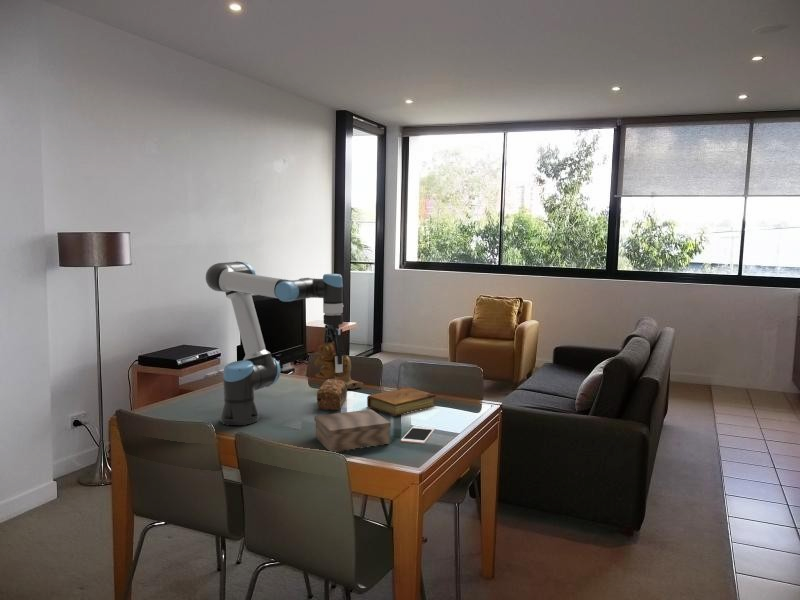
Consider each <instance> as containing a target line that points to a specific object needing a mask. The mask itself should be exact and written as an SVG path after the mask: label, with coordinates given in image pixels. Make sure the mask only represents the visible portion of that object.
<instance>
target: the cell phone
mask: <svg viewBox="0 0 800 600" xmlns="http://www.w3.org/2000/svg"><path fill="white" fill-rule="evenodd" d="M435 430H436V428H435V427H430V426H419V425H418V426H417V425H413V426H412V427H411V428H410V429H409V430H408V431H407V433H406V434H405V435H404V436H403V437H402V438H401V439H400V442H401V443H411V444H421V445H424V444H425V443H426V442H427V441H428V439H429V438H430V437H431V436H432V434H433V433H434V432H435Z"/></svg>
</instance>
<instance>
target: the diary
mask: <svg viewBox="0 0 800 600" xmlns="http://www.w3.org/2000/svg"><path fill="white" fill-rule="evenodd" d="M434 398H436V394H434V393H430V392H428V391H427V392H426V391H422V390H419V389H416V388H412V387H408V386H406V387H403V388H402V387H401V388H397V389H393V390H392V389H391V390H388V391H384V392H379V393H375V394H369V395H368V396H366V406H367V408H370V407H371V408H370V409H372V408H374V409H373V410H375V409H377V410H376V411H378V410H380V411H379V412H381V411H383V412H382V413H384V412H385V414H387V413H388V415H390V414H391V415H390V416H393V415H394V417H398V416H402V415H405V414H404V413H406V414H408V413H407V412H410V413H412V412H411V411H414V412H416V411H415V410H418V411H421V410H420V409H422V410H425V408H426V409H430V408H434V407H436V405H435V404H434ZM429 407H430V408H429ZM401 414H402V415H401ZM397 415H398V416H397Z"/></svg>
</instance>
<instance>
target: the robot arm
mask: <svg viewBox="0 0 800 600" xmlns="http://www.w3.org/2000/svg"><path fill="white" fill-rule="evenodd" d="M205 281H206V284H207V286H208V287H209V288H210V289H211V290H213V291H215V292H222V293H223V292H224V294H225V297H226V298H228V299H229V300H230V301H231V305H232V308H233V311H234V315H235V321H236V324H237V327H238V331H239V332H238V333H239V335H240V338H241V343H242V347H243V351H244V354H245V355H244V357H243V359H242V360H238V361H236V360H235V361H232V362H229V363H227V365H225V366H224V368H223V375H222V379H223V397H224V398H223V399H224V400H223V405H222V410H221V411H220V412H221V413H220V417H219V418H220V419H219V421H221V422H222V423H224V424H228V425H243V426H248V425H247V424H249V425H252V424H251V423H253V424H255V423H257V422H259V420H260V413H259V410H258V407H257V405H256V402H255V391H258V390H261V389H264V388H268V387H270V386H272V385H274V384H276V383H277V382H278V381H279V379H280V376H281V371H282V369H281V365H280V363H279V361H278V360H276V358H275V357H272V353H271V352H270V351H268V350H267V349H266V344H265V341H264V337H263V334H262V330H261V325H260V322H259V318H258V315H257V311H256V308H255V304H254V300H253V296H252V295H255V296H256V295H257V296H264V297H267V298H275V299H279V301H281V302H285V303H286V302H288V303H289V302H293V301H299V300H304V299H305V300H306V299H310V298H311V299H313V298H315V299H322V301H323V302H322V303H323V304H322V309H323V310H322V312H323V317H322V318H323V324H324V336H323V342H322V344H323V343H331V342H333V343H334V345H333V348H334V351H335V352H334V353H336V354H335V355H334V356H335V373H340V372H343V355H345V356H346V352H345V345H344V337H343V328H340V327H339V326H340V325H342V324H343V323H344V314H343V312H344V310H343V309H344V307H345V305H344V301H343V296H344V295H343V293H344V292H343V290H344V289H343V287H344V285H343V284H344V283H343V276H342V275H341V274H340V273H325V274H323V276H322V278H312V277H311V278H310V277H301V278H298V279H295V280H291V279H283V278H280V277H279V278H277V277H271V276H267V275H266V276H265V275H258V274H256V271H255V269H254V267H253V266H252V265H251V264H249V263H248V262H246V261H245V262H244V261H230V262H217V263H215V264H213V265H210V266H209V268H208V269H207V270H206V273H205ZM256 421H257V422H256ZM221 422H220V423H221ZM254 422H255V423H254ZM222 423H221V424H222ZM224 424H223V425H224ZM228 425H227V426H228Z"/></svg>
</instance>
